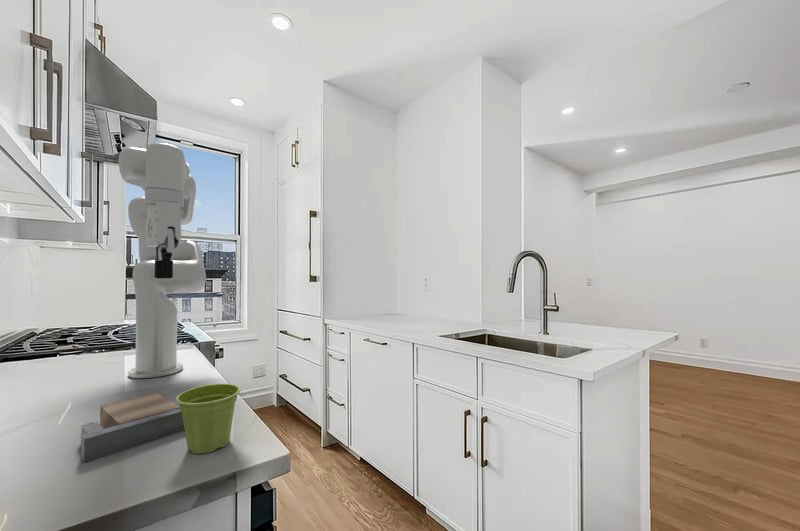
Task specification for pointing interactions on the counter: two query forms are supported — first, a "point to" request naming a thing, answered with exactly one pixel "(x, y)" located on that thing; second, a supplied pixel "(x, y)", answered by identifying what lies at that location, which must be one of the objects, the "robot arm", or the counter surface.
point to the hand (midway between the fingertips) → (163, 278)
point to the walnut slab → (134, 409)
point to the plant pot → (208, 415)
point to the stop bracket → (127, 434)
